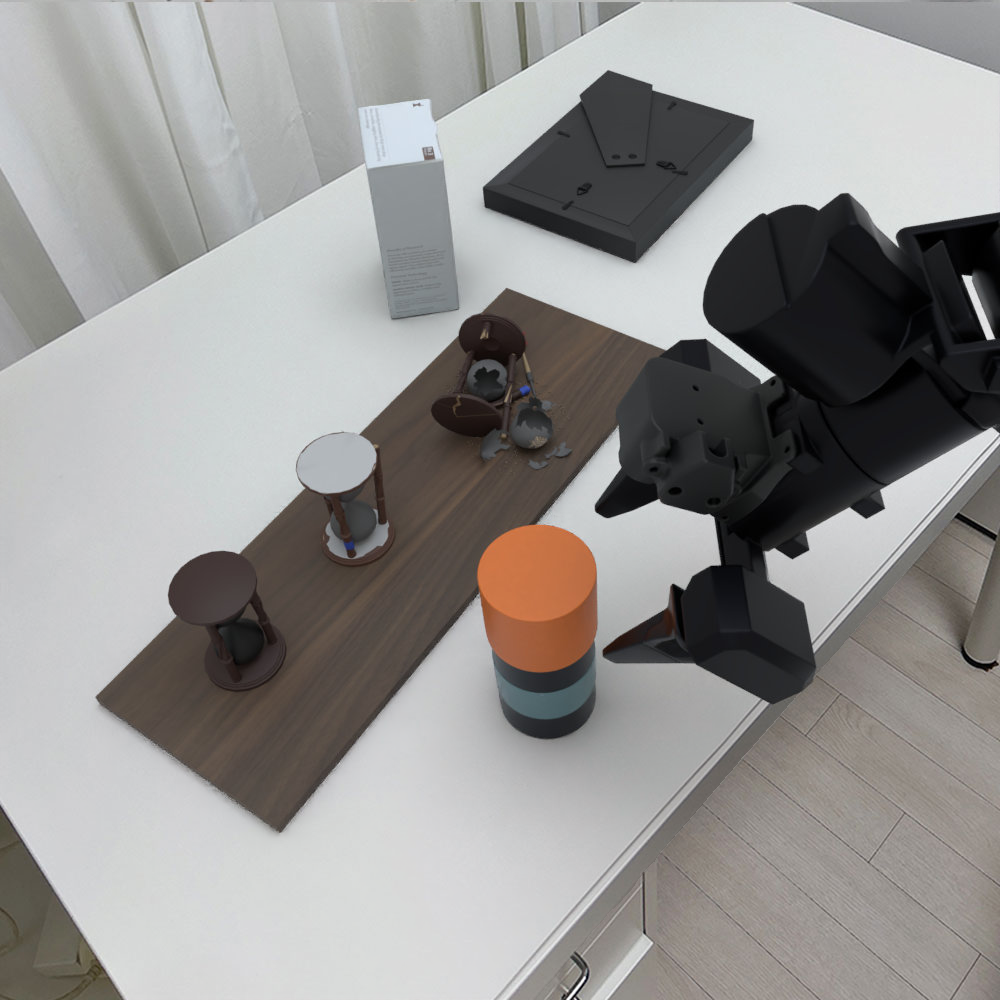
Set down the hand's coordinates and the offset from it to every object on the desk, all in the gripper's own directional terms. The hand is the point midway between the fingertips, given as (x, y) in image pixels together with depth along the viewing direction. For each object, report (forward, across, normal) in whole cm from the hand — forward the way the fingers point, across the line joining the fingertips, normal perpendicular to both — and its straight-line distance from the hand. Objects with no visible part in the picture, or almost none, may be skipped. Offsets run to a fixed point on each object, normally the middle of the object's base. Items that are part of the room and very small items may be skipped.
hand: (603, 581), depth 58 cm
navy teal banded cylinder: (+11, 0, +6) cm, 12 cm away
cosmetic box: (+18, -39, -1) cm, 43 cm away
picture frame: (+6, -54, +11) cm, 55 cm away
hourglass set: (+17, -15, 0) cm, 23 cm away
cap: (+5, 0, 0) cm, 5 cm away
